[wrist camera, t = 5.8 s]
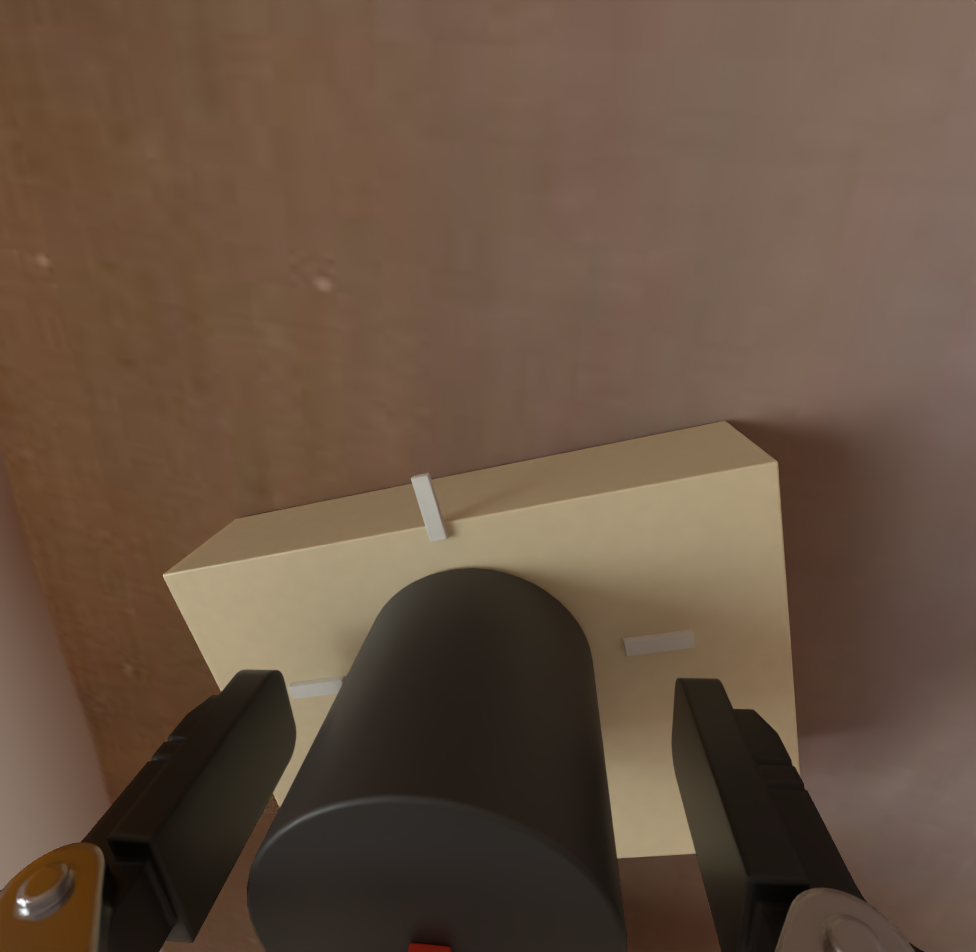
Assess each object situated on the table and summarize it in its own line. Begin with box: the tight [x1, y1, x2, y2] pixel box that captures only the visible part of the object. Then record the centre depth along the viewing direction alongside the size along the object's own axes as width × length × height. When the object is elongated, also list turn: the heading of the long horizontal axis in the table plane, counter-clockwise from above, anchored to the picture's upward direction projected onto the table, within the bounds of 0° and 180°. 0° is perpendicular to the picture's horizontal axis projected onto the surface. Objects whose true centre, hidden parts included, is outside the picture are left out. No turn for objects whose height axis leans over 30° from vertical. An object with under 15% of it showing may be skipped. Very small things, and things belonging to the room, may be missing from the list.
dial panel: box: [163, 421, 800, 858], centre depth 13 cm, size 13×11×3 cm
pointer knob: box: [247, 568, 627, 952], centre depth 9 cm, size 5×5×6 cm
